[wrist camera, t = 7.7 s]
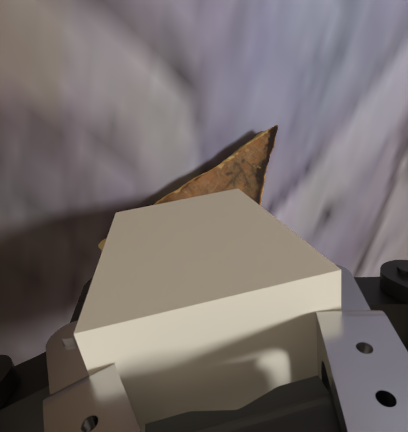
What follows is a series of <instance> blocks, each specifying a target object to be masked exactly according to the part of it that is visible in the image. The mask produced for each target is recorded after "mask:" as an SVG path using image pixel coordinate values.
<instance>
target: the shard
mask: <svg viewBox="0 0 408 432" xmlns="http://www.w3.org/2000/svg"><path fill="white" fill-rule="evenodd" d="M277 129H278V125H275V126H274V127H272V128H270V129H268V130H266V131H261V132H260V133H258V134H257V135H256V136H255V137H254V138H253V139H251V140H250V141H248V142H247V143H246V144H244V145H243V146H241V147H240V148H239V149H238V150H236V151H235V152H234V153H233V154H232V155H230V156H229V157H228V158H227V159H226V160H224V161H223V162H222V163H220V164H219V165H218V166H216V167H214V168H213V169H211V170H209V171H208V172H206V173H203V174H201V175H199V176H196V177H194V178H193V179H191V180H190V181H188V182H187V183H185V184H183V185H182V186H181V187H180V188H179V189H177V190H176V191H174V192H172V193H170V194H168V195H166V196H164V197H163V198H162V199H160V200H158V201H157V202H156V203H155V204H154V205H156V204H162V203H167V202H172V201H177V200H182V199H187V198H192V197H197V196H202V195H207V194H212V193H217V192H222V191H227V190H232V189H240V190H241V191H242V192H243V193H245V194H246V195H247V196H249V197H250V198H251V199H252V200H254V201H255V202H256V203H257V204H259V205H260V204H261V199H262V194H263V188H264V183H265V173H266V169H267V165H268V162H269V158H270V154H271V153H272V150H273V148H274V144H275V137H276V133H277ZM106 239H107V238H106ZM106 239H104V240H102V241H101V242H100V243H99V245H98V247H99V248H100V249H101V251H103V248H104V245H105V242H106Z"/></svg>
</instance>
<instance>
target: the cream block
mask: <svg viewBox="0 0 408 432" xmlns="http://www.w3.org/2000/svg"><path fill="white" fill-rule="evenodd" d="M318 311H341V269H340V268H339V267H337V266H336V265H335V264H334V263H332V262H331V261H330V260H328V259H327V258H326V257H325V256H323V255H322V254H321V253H320V252H318V251H317V250H316V249H314V248H313V247H312V246H311V245H309V244H308V243H307V242H306V241H304V240H303V239H302V238H301V237H299V236H298V235H297V234H295V233H294V232H293V231H292V230H290V229H289V228H288V227H287V226H285V225H284V224H283V223H281V222H280V221H279V220H278V219H276V218H275V217H274V216H273V215H271V214H270V213H269V212H268V211H266V210H265V209H264V208H262V207H261V206H260V205H259V204H257V203H256V202H255V201H254V200H252V199H251V198H250V197H249V196H247V195H246V194H245V193H243V192H242V191H241V190H240V189H232V190H227V191H222V192H217V193H212V194H207V195H202V196H197V197H192V198H187V199H182V200H177V201H172V202H167V203H162V204H156V205H151V206H146V207H141V208H136V209H131V210H126V211H121V212H116V213H115V216H114V219H113V222H112V225H111V228H110V231H109V233H108V236H107V239H106V242H105V245H104V248H103V251H102V254H101V256H100V259H99V262H98V265H97V268H96V271H95V274H94V277H93V279H92V282H91V285H90V288H89V291H88V294H87V297H86V300H85V303H84V305H83V308H82V311H81V314H80V317H79V320H78V323H77V326H76V328H75V331H74V336H75V339H76V342H77V344H78V347H79V350H80V352H81V355H82V358H83V360H84V363H85V366H86V368H87V371H88V374H89V375H90V374H92V373H94V372H96V371H97V370H100V369H102V368H104V367H106V366H108V365H111V364H114V363H115V366H116V368H117V371H118V373H119V376H120V379H121V381H122V384H123V386H124V389H125V391H126V394H127V396H128V399H129V402H130V404H131V407H132V409H133V412H134V414H135V417H136V420H137V422H138V425H139V427H140V430H141V432H145V424H146V423H150V422H153V421H157V420H160V419H164V418H168V417H171V416H175V415H178V414H182V413H185V412H189V411H216V410H237V409H240V408H242V407H244V406H245V405H247V404H249V403H251V402H252V401H254V400H256V399H257V398H259V397H261V396H262V395H264V394H266V393H268V392H269V391H271V390H273V389H274V388H276V387H278V386H281V385H285V384H288V383H292V382H296V381H299V380H303V379H306V378H310V377H313V376H317V375H318V365H317V334H316V312H318Z"/></svg>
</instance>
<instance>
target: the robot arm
mask: <svg viewBox="0 0 408 432" xmlns="http://www.w3.org/2000/svg"><path fill="white" fill-rule="evenodd" d="M336 266H337V267H339V268H340V269H341V311H318V312H316V334H317V365H318V375H317V376H313V377H310V378H306V379H303V380H299V381H296V382H292V383H288V384H285V385H281V386H278V387H276V388H274V389H273V390H271V391H269V392H268V393H266V394H264V395H262V396H261V397H259V398H257V399H256V400H254V401H252V402H251V403H249V404H247V405H245V406H244V407H242V408H240V409H237V410H216V411H189V412H185V413H182V414H178V415H175V416H171V417H168V418H164V419H160V420H157V421H153V422H150V423H146V424H145V432H408V260H393V261H389V262H386V263H384V264H383V265H382V266H381V270H380V277H353V275H352V274H351V272H350V271H349V270H347V269H346V268H344V267H342V266H339V265H336ZM92 279H93V277H92V278H91V279H90V280H89V281H88V282H87V283H86V284H85V285H84V287H83V290H82V293H81V296H80V298H79V300H78V303H77V306H76V308H75V311H74V313H73V316H72V319H71V321H70V323H69V324H67V325H65V326H63V327H62V328H60V329H59V330H57V331H56V332H55V333H54V334H53V335H52V336H51V337H50V338H49V340H48V342H47V344H46V352H44V353H42V354H40V355H38V356H36V357H34V358H32V359H30V360H28V361H25V362H23V363H21V364H19V365H17V366H14V364H13V362H12V360H11V358H10V357H9V356H7V355H0V432H141V430H140V427H139V425H138V422H137V420H136V417H135V414H134V412H133V409H132V407H131V404H130V402H129V399H128V396H127V394H126V391H125V389H124V386H123V384H122V381H121V379H120V376H119V373H118V371H117V368H116V366H115V363H114V364H111V365H108V366H106V367H104V368H102V369H100V370H97V371H96V372H94V373H92V374H90V375H89V374H88V371H87V368H86V366H85V363H84V360H83V358H82V355H81V352H80V350H79V347H78V344H77V342H76V339H75V336H74V331H75V328H76V326H77V323H78V320H79V317H80V314H81V311H82V308H83V305H84V303H85V300H86V297H87V294H88V291H89V288H90V285H91V282H92Z"/></svg>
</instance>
